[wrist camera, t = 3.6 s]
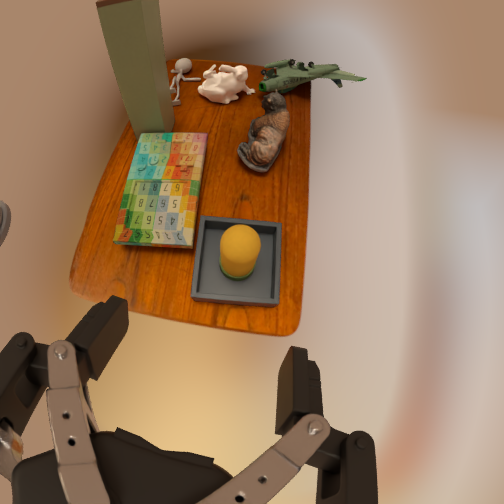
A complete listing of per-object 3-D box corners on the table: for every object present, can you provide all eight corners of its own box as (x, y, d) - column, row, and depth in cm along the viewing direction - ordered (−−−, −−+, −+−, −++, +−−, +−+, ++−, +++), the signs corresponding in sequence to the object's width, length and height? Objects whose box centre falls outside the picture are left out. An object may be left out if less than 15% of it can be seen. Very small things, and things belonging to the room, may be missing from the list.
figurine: (187, 81, 43) (198, 47, 48) (157, 87, 44) (173, 52, 49) (195, 103, 49) (204, 67, 54) (167, 108, 49) (180, 71, 54)
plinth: (138, 143, 45) (95, 2, 17) (146, 121, 47) (116, -12, 19) (168, 143, 46) (140, -8, 17) (175, 120, 48) (157, -20, 19)
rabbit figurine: (255, 90, 52) (260, 55, 43) (254, 112, 50) (260, 75, 40) (200, 87, 51) (198, 52, 42) (194, 109, 49) (191, 72, 40)
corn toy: (218, 279, 38) (215, 258, 28) (221, 245, 40) (220, 214, 30) (253, 282, 39) (264, 262, 29) (255, 248, 40) (266, 218, 30)
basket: (193, 300, 38) (190, 296, 34) (202, 225, 42) (200, 215, 38) (274, 307, 39) (279, 304, 35) (277, 232, 42) (281, 222, 39)
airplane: (250, 72, 46) (258, 114, 53) (369, 71, 38) (369, 118, 46) (276, 52, 59) (281, 83, 67) (361, 52, 52) (363, 85, 59)
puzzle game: (207, 129, 42) (191, 243, 36) (208, 146, 46) (194, 254, 40) (140, 129, 41) (110, 239, 35) (146, 146, 45) (121, 249, 39)
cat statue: (272, 181, 45) (283, 143, 36) (231, 169, 45) (234, 130, 36) (286, 132, 49) (298, 94, 39) (251, 123, 49) (256, 83, 39)
